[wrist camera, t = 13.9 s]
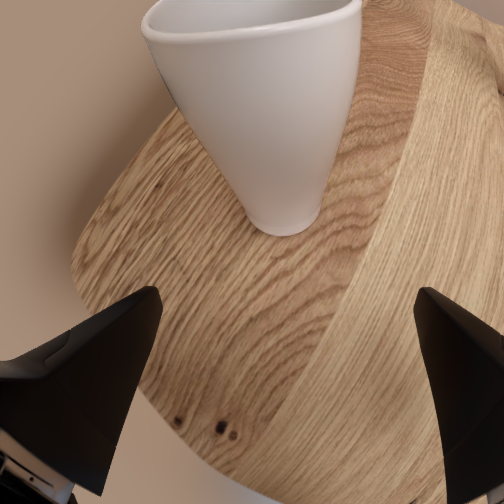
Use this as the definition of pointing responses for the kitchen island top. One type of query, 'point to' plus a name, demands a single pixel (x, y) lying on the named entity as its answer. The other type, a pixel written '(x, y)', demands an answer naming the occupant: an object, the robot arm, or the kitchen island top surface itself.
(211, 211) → the kitchen island top surface
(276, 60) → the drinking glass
